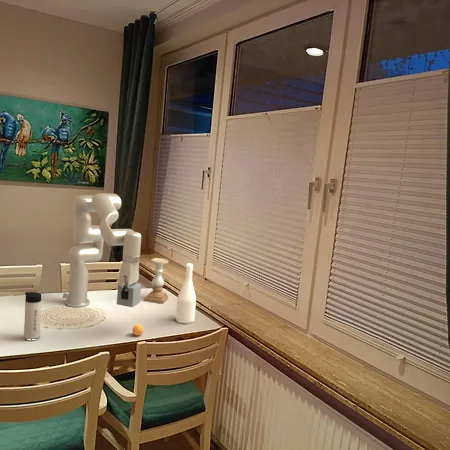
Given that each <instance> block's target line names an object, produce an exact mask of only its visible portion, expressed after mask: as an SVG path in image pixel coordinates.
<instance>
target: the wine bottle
mask: <svg viewBox="0 0 450 450" xmlns="http://www.w3.org/2000/svg"><path fill="white" fill-rule="evenodd" d="M193 269H194V264H193V263H191V262H190V263H189V262H188V263H186V264H185V278H184V281H183V283H182V286H181V288H180V291H179V293H178V295H177V301H176V310H175V311H176V312H175V321H176V322H177V323H180V324H187V325H189V324H192V323H193V322H194V321H195V316H196V302H197V297H196V292H195V288H194V283H193Z"/></svg>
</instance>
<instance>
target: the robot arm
mask: <svg viewBox="0 0 450 450" xmlns="http://www.w3.org/2000/svg"><path fill="white" fill-rule="evenodd" d="M121 207H122V199H121V197H120V196H119V195H118V194H117V193H102V192H100V193H96V194H94V195H92V194H87V195H85V194H82V195H77V196H76V197H74V200H73V202H72V210H73V214H74V215H73V216H74V218H73V219H74V221H73V233H72V236H73V237H72V239H73V242H74V243H76V244H79V245H75V246H72V247H71V248H70V249H69V251H68V260H69V282H68V293H66V292H65V293H63V295H62V298H63V299H66V300H65V301H64V303H65V305H66V306H68V307H73V308H79V307H80V308H81V307H86V306H89V304H90V303H91V302H90V301H91V300H90V299H88V290H89V289H88V288H89V287H88V285H89V270H88V268H87V266H86V265H85V264H89V263H91V264H92V263H97V262H100V261H101V259H102V258H103V252H104V251H103V250H104V243H106V244H107V245H108V246H110V247H117V246H123V249H122V250H123V251H122V264H121V268H120V269H121V270H120V276H119V285H120V286H121V299H125V300H127V299H128V287H129V285H131V284H133V283H135V284H139V279H140V259H141V248H142V247H141V245H142V235H141V233H140V232H138V231H134V230H133V229H131V228H114V229H112V228H111V227H110V225H112V224H114V223H115V222H116V221H117V220H118V219H119V216H120V215H119V211H118V210H120V208H121ZM90 212H91V213H97V215H98V216H99V218H100V223H99V225H95V224H94V225H93V224H92V215H91V214H90ZM80 244H81V245H80ZM83 244H84V245H83ZM86 244H87V245H86ZM125 283H128V284H125ZM124 285H125V286H126V287H125V286H124Z"/></svg>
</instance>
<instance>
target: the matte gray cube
mask: <svg viewBox="0 0 450 450" xmlns="http://www.w3.org/2000/svg"><path fill="white" fill-rule="evenodd" d="M125 284H128V283H125ZM124 286H125V285H124ZM125 287H126V286H125ZM141 291H142V284H141V283H137V284H135V283H133V284H131V285H129V287H128V299H127V300H125V299H121V286H120V284H118V285H117V297H116V305H119V306H123V307H128V308H129V307H130V308H133V307H135V306H137V305H139V304H140V303H141Z"/></svg>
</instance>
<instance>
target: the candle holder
mask: <svg viewBox="0 0 450 450" xmlns="http://www.w3.org/2000/svg"><path fill="white" fill-rule="evenodd" d="M150 261H151V263H154V265H155V269H154V274H155V275H154V277H153V278H152V280H151V284H152V288H151V289H152V291H150V292H149V293H148V294H147V295H146V297H145V298H144V302H146V301H147V302H148V303H153V302H154V303H155V304H160V303H161V305H163V304H165V303H166V302H167V300H168V299H169V295H168V294H167V293H166V292H164V291H163V290H164V288H163V286H164V285H165V279H164V278H163V276H162V274H163V272H164V269H163V266H164V265H165V264H168V263H169V259H167V258H161V257H154V258H151V259H150ZM154 303H153V304H154Z"/></svg>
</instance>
